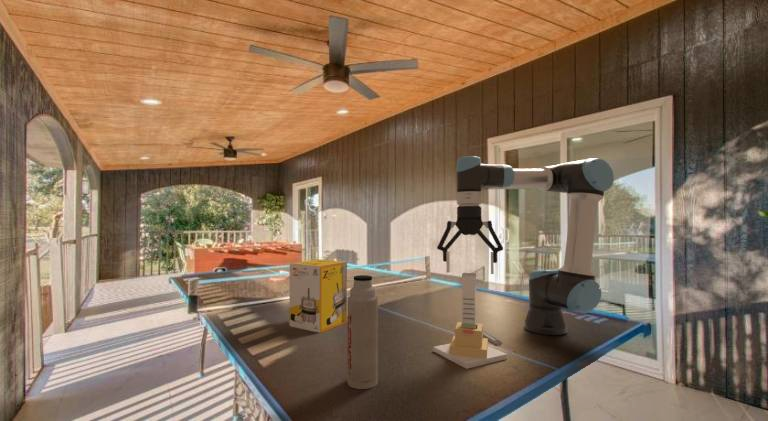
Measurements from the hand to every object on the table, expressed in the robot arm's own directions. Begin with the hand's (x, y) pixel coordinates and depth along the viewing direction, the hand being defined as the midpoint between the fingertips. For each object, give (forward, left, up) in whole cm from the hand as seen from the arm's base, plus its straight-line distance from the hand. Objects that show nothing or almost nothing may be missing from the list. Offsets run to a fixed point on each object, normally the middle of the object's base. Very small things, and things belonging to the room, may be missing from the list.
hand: (469, 272), depth 121 cm
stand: (0, 0, -26) cm, 26 cm away
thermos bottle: (+38, +2, -26) cm, 46 cm away
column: (0, 0, -18) cm, 18 cm away
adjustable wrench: (-18, -15, -27) cm, 35 cm away
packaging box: (+31, -55, -26) cm, 68 cm away
